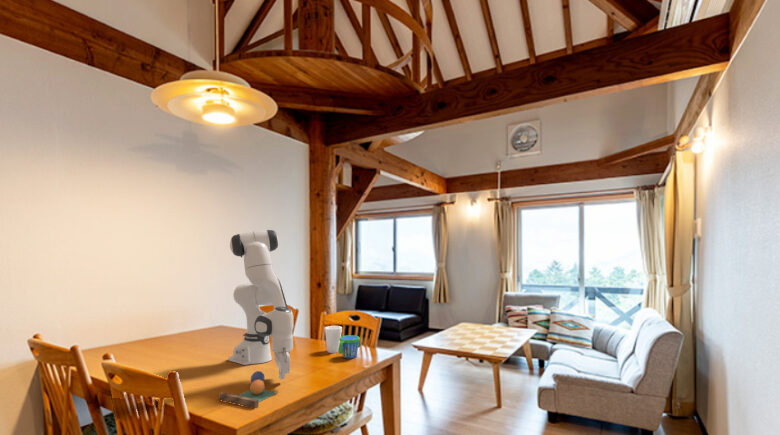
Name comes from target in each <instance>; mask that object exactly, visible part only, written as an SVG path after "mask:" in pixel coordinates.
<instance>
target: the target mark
mask: <svg viewBox="0 0 780 435" xmlns="http://www.w3.org/2000/svg"><path fill="white" fill-rule="evenodd" d="M276 394H278V392H277V391H270V390H265V389H264V391H263V392H262V393H261V394H259V395H254V394H252V393H251V391H250V389H248V390H247V391H245V392H242V393H240V394H237V396H242V397H246V398H251V399H256V400H258V403H260V402H263V401H265V400H266V399H268V398H271V397H272V396H275V395H276Z"/></svg>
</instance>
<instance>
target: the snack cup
mask: <svg viewBox="0 0 780 435" xmlns="http://www.w3.org/2000/svg"><path fill="white" fill-rule="evenodd" d="M360 347H361V338H360V336H359V335H353V334H352V335H350V334H349V335H348V334H347V335H343V336H342V335H341V337H340V344H339V349H338V352H337V353H338V354H341V356H342V358H344V359H355V358H356V357H357V356H358V350H359V348H360Z"/></svg>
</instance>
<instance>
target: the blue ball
mask: <svg viewBox="0 0 780 435" xmlns="http://www.w3.org/2000/svg"><path fill="white" fill-rule="evenodd" d="M258 379H259V380H262V381H263V382H264V383H265V373H263V372H262V371H259V370H258V371H255V372H253V373H252V374H251V376H250V382H251V383H252V382H253V381H254V380H258Z"/></svg>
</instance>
